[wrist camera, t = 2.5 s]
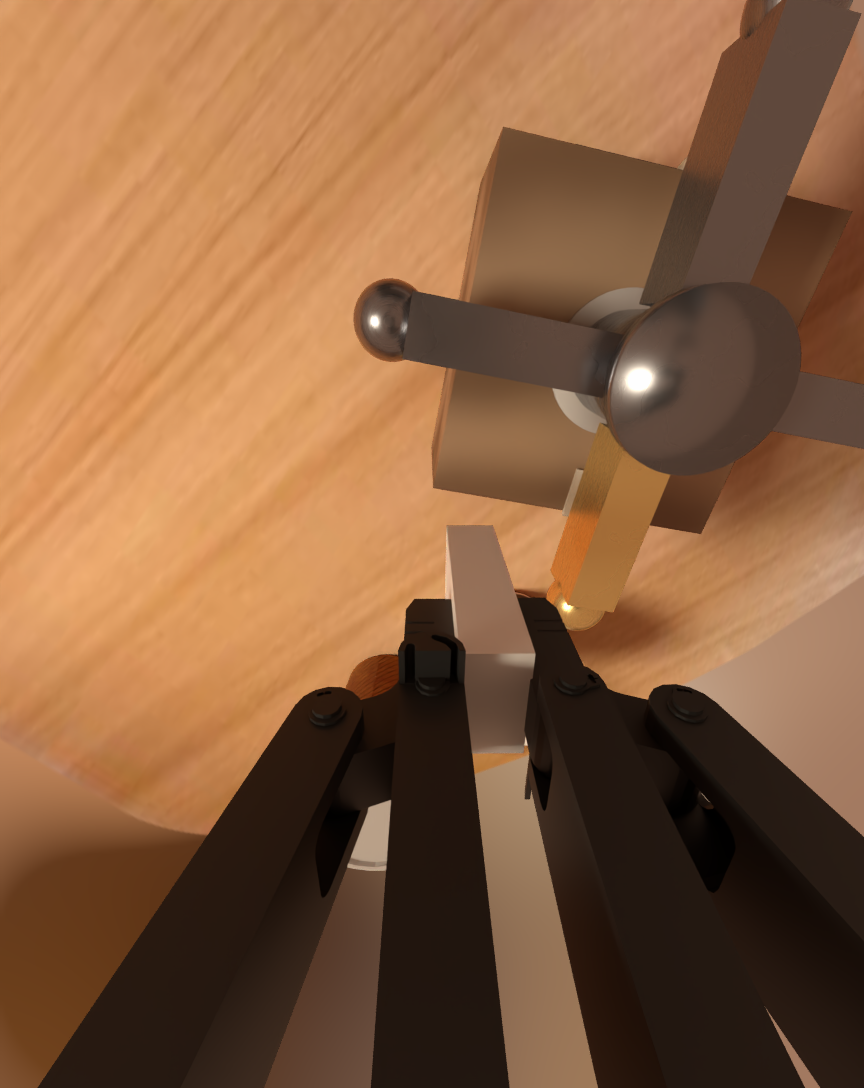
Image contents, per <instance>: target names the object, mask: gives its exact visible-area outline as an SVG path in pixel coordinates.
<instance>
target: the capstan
mask: <svg viewBox="0 0 864 1088" xmlns="http://www.w3.org/2000/svg"><path fill="white" fill-rule="evenodd" d="M852 2H853V0H747V1H746V3H745V6H744V10H743V13H742V18H741V23H740V38H739V39H737V40H736V41H735V42H734V43H733V44H732V45H731V46H730V47H728V48H727V49H726V50H725V51H724V52H723V53H722V55H721V58H720V61H719V64H718V67H717V70H716V73H715V76H714V79H713V82H712V85H711V88H710V91H709V94H708V97H707V100H706V103H705V106H704V109H703V112H702V115H701V118H700V121H699V124H698V127H697V130H696V133H695V136H694V139H693V142H692V145H691V148H690V151H689V154H688V157H687V160H686V163H685V166H684V169H683V172H682V175H681V179H680V182H679V185H678V188H677V191H676V194H675V197H674V200H673V203H672V206H671V209H670V212H669V215H668V218H667V221H666V224H665V227H664V230H663V233H662V236H661V239H660V242H659V245H658V248H657V251H656V254H655V257H654V260H653V263H652V266H651V269H650V272H649V275H648V278H647V281H646V284H645V287H644V290H643V293H642V296H641V299H640V302H639V304H641V305H645V306H650V308H649V309H627V310H620V311H617V312H613V313H611V314H609V315H606V316H605V317H603V318H601V319H600V320H598V321H597V322H596V323H594V324H593V325H592V326H591V327H585V326H580V325H575V324H570V323H565V322H561V321H556V320H551V319H546V318H541V317H537V316H532V315H527V314H522V313H517V312H513V311H508V310H503V309H498V308H493V307H489V306H484V305H479V304H474V303H469V302H465V301H460V300H455V299H450V298H445V297H441V296H436V295H431V294H426V293H421V292H418V291H417V290H416V289H415V288H414V287H413V286H412V285H410V284H408V283H407V282H404V281H402V280H399V279H392V278H391V279H382V280H379V281H376V282H374V283H372V284H371V285H369V286H368V287H367V288H366V289H365V290H364V291H363V292H362V293H361V295H360V297H359V298H358V300H357V303H356V306H355V309H354V328H355V332H356V335H357V337H358V339H359V341H360V343H361V345H362V346H363V347H364V348H365V350H367V351H368V352H369V353H370V354H371V355H372V356H374V357H376V358H378V359H380V360H383V361H388V362H397V361H402V360H410V361H416V362H421V363H426V364H431V365H436V366H441V367H446V368H451V369H457V370H462V371H467V372H472V373H477V374H482V375H487V376H493V377H498V378H503V379H508V380H513V381H518V382H523V383H528V384H534V385H539V386H544V387H549V388H554V389H559V390H564V391H569V392H575V395H576V397H577V398H578V400H579V401H580V402H581V404H582V405H583V406H584V407H585V408H587V409H588V410H589V411H591V412H593V413H594V414H596V415H598V416H599V417H601V418H603V419H605V420H606V422H607V424H604V423H599V426H598V429H597V432H596V435H595V438H594V441H593V444H592V447H591V450H590V453H589V456H588V459H587V462H586V465H585V468H584V471H583V474H582V477H581V480H580V483H579V486H578V489H577V492H576V495H575V498H574V501H573V504H572V507H571V510H570V513H569V516H568V519H567V522H566V525H565V528H564V531H563V534H562V537H561V540H560V543H559V546H558V549H557V552H556V555H555V558H554V561H553V564H552V568H551V573H552V575H553V577H554V579H555V581H554V582H553V583H552V584H551V586H550V588H549V590H548V592H547V597H546V599H547V600H548V601H549V602H550V603H551V604H553V605H554V606H555V607H556V608H557V609H558V611H559V614H560V616H561V618H562V622H564V624H565V627H566V629H568V630H573V631H582V630H587V629H589V628H591V627H593V626H595V625H596V624H597V623H598V622H599V621H600V620H601V619H602V617H603V616H604V613H605V611H607V612H614V610H615V607H616V605H617V603H618V600H619V598H620V595H621V593H622V591H623V588H624V586H625V583H626V581H627V578H628V576H629V574H630V571H631V569H632V566H633V564H634V562H635V559H636V557H637V554H638V552H639V550H640V547H641V545H642V542H643V540H644V537H645V535H646V533H647V530H648V528H649V525H650V523H651V521H652V518H653V516H654V513H655V511H656V509H657V506H658V504H659V501H660V499H661V496H662V494H663V492H664V489H665V487H666V484H667V482H668V480H669V477H670V475H678V476H689V475H697V474H703V473H707V472H711V471H714V470H717V469H719V468H722V467H725V466H727V465H729V464H731V463H733V462H735V461H736V460H738V459H739V458H741V457H743V456H744V455H746V454H747V453H748V452H750V451H751V450H752V449H753V448H755V447H756V446H757V445H758V444H759V443H760V442H761V441H762V440H763V439H764V438H765V437H766V436H767V435H768V434H769V433H770V432H771V431H774V432H780V433H785V434H790V435H795V436H800V437H805V438H810V439H816V440H821V441H826V442H831V443H836V444H841V445H846V446H851V447H857V448H862V449H864V385H863V384H859V383H854V382H849V381H844V380H839V379H835V378H830V377H825V376H820V375H815V374H811V373H806V372H801V371H800V366H801V346H800V339H799V334H798V330H797V328H796V325H795V323H794V320H793V318H792V316H791V315H790V313H789V312H788V310H787V309H786V307H785V306H784V305H783V304H782V303H781V302H780V301H779V300H778V299H777V298H776V297H774V296H773V295H772V294H770V293H769V292H767V291H765V290H763V289H761V288H759V287H756V286H753V285H750V282H751V279H752V277H753V274H754V272H755V270H756V267H757V265H758V262H759V260H760V258H761V255H762V253H763V250H764V248H765V246H766V243H767V241H768V238H769V236H770V233H771V231H772V229H773V226H774V224H775V221H776V219H777V217H778V214H779V212H780V209H781V207H782V204H783V202H784V200H785V197H786V195H787V192H788V190H789V188H790V185H791V183H792V180H793V178H794V176H795V173H796V171H797V168H798V166H799V163H800V161H801V159H802V156H803V154H804V151H805V149H806V147H807V144H808V142H809V139H810V137H811V135H812V132H813V130H814V127H815V125H816V122H817V120H818V118H819V115H820V113H821V110H822V108H823V106H824V103H825V101H826V98H827V96H828V94H829V91H830V89H831V86H832V84H833V81H834V79H835V77H836V74H837V72H838V69H839V67H840V65H841V62H842V60H843V57H844V55H845V52H846V50H847V48H848V45H849V43H850V40H851V38H852V36H853V33H854V31H855V28H856V26H857V24H858V21H859V19H860V16H861V13H858V12H854V11H850V10H849V8H850V6H851V4H852Z"/></svg>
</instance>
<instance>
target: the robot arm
mask: <svg viewBox="0 0 864 1088" xmlns="http://www.w3.org/2000/svg"><path fill="white" fill-rule="evenodd" d="M398 664H399V680H398V682H397V683H396V684H395V685H394V686H393V687H392V688H391V689H389V690H388V691H386V692H384V693H382V694H379V695H377V696H374V697H370V698H366V699H362V700H360V698H359V697H358V696H357V695H356V694H355V693H354V692H353V691H350V690H347V689H345V688H342V687H326V688H322V689H318V690H315V691H313V692H311V693H309V694H307V695H306V696H304V697H303V698H302V699H301V700H300V701H299V702H298V703H297V704H296V705H295V706H294V708H293V709H292V711H291V712H290V714H289V715H288V717H287V718H286V720H285V721H284V723H283V724H282V726H281V727H280V729H279V730H278V732H277V733H276V735H275V736H274V737H273V739H272V740H271V742H270V743H269V745H268V746H267V748H266V749H265V751H264V752H263V754H262V755H261V757H260V758H259V760H258V761H257V763H256V764H255V766H254V767H253V769H252V770H251V772H250V773H249V775H248V776H247V778H246V779H245V781H244V782H243V784H242V785H241V786H240V788H239V789H238V791H237V792H236V794H235V795H234V797H233V798H232V800H231V801H230V803H229V804H228V806H227V807H226V809H225V810H224V812H223V813H222V815H221V816H220V818H219V819H218V821H217V822H216V824H215V825H214V827H213V828H212V830H211V831H210V833H209V834H208V835H207V837H206V838H205V840H204V841H203V843H202V845H201V846H200V847H199V849H198V851H197V852H196V854H195V855H194V856H193V858H192V859H191V861H190V862H189V864H188V865H187V867H186V868H185V870H184V871H183V873H182V874H181V876H180V877H179V879H178V880H177V882H176V883H175V885H174V886H173V887H172V889H171V890H170V892H169V894H168V895H167V896H166V898H165V899H164V901H163V902H162V904H161V906H160V907H159V908H158V910H157V911H156V913H155V914H154V916H153V917H152V919H151V920H150V922H149V923H148V925H147V926H146V928H145V929H144V931H143V932H142V933H141V935H140V937H139V938H138V940H137V941H136V942H135V944H134V945H133V947H132V948H131V950H130V951H129V953H128V955H127V956H126V957H125V959H124V960H123V962H122V963H121V965H120V966H119V968H118V969H117V971H116V972H115V974H114V975H113V977H112V978H111V980H110V981H109V982H108V984H107V985H106V987H105V989H104V990H103V991H102V993H101V994H100V996H99V997H98V999H97V1000H96V1002H95V1003H94V1005H93V1007H92V1008H91V1009H90V1011H89V1012H88V1014H87V1015H86V1017H85V1018H84V1020H83V1021H82V1023H81V1024H80V1026H79V1027H78V1029H77V1030H76V1032H75V1033H74V1034H73V1036H72V1038H71V1039H70V1040H69V1042H68V1043H67V1045H66V1046H65V1048H64V1049H63V1051H62V1052H61V1054H60V1055H59V1057H58V1058H57V1060H56V1061H55V1063H54V1064H53V1066H52V1067H51V1069H50V1070H49V1072H48V1073H47V1075H46V1076H45V1078H44V1079H43V1080H42V1082H41V1083H40V1085H39V1087H38V1088H264V1086H265V1084H266V1081H267V1078H268V1076H269V1073H270V1070H271V1068H272V1065H273V1062H274V1060H275V1057H276V1054H277V1052H278V1049H279V1047H280V1044H281V1041H282V1039H283V1036H284V1033H285V1031H286V1028H287V1025H288V1023H289V1020H290V1017H291V1015H292V1012H293V1009H294V1006H295V1004H296V1001H297V999H298V996H299V993H300V991H301V988H302V985H303V983H304V980H305V978H306V975H307V972H308V970H309V967H310V964H311V962H312V959H313V956H314V954H315V951H316V948H317V946H318V943H319V940H320V938H321V935H322V932H323V930H324V927H325V924H326V922H327V919H328V917H329V914H330V911H331V909H332V906H333V903H334V901H335V898H336V895H337V893H338V890H339V887H340V885H341V882H342V879H343V877H344V874H345V871H346V869H347V866H348V863H349V861H350V858H351V855H352V853H353V850H354V848H355V845H356V842H357V840H358V837H359V834H360V832H361V829H362V826H363V824H364V821H365V818H366V816H367V813H368V808H369V807H371V806H374V805H377V804H380V803H383V802H386V801H389V800H391V807H390V821H389V836H388V850H387V864H386V879H385V893H384V907H383V922H382V936H381V951H380V965H379V981H378V994H377V1008H376V1023H375V1038H374V1051H373V1065H372V1080H371V1088H509V1080H508V1071H507V1062H506V1053H505V1044H504V1036H503V1026H502V1018H501V1008H500V999H499V990H498V982H497V972H496V963H495V954H494V945H493V936H492V927H491V919H490V909H489V901H488V892H487V882H486V874H485V864H484V856H483V846H482V838H481V829H480V820H479V810H478V801H477V792H476V784H475V775H474V766H473V757H472V753H523V752H524V744H525V736H526V740H527V745H528V749H529V753H530V754H529V763H528V770H527V777H526V785H525V799H530V795H531V790H532V795H533V799H534V803H535V808H536V812H537V816H538V821H539V826H540V830H541V835H542V839H543V844H544V848H545V852H546V857H547V862H548V866H549V870H550V875H551V879H552V884H553V888H554V893H555V897H556V902H557V906H558V910H559V915H560V919H561V924H562V928H563V933H564V937H565V942H566V946H567V951H568V956H569V960H570V964H571V968H572V973H573V978H574V982H575V987H576V991H577V995H578V1000H579V1004H580V1009H581V1014H582V1018H583V1022H584V1027H585V1031H586V1036H587V1040H588V1045H589V1049H590V1054H591V1058H592V1063H593V1067H594V1072H595V1076H596V1080H597V1085H598V1088H805V1087H804V1085H803V1083H802V1081H801V1079H800V1077H799V1075H798V1073H797V1071H796V1069H795V1067H794V1065H793V1063H792V1061H791V1058H790V1056H789V1054H788V1053H787V1051H786V1048H785V1046H784V1044H783V1042H782V1040H781V1038H780V1036H779V1034H778V1032H777V1030H776V1028H775V1026H774V1024H773V1022H772V1020H771V1018H770V1016H769V1014H768V1012H769V1013H770V1015H771V1016H772V1017H773V1019H774V1020H775V1022H776V1023H777V1025H778V1026H779V1028H780V1029H781V1031H782V1032H783V1033H784V1035H785V1037H786V1038H787V1039H788V1041H789V1042H790V1044H791V1045H792V1047H793V1048H794V1049H795V1051H796V1053H797V1054H798V1056H799V1057H800V1058H801V1060H802V1061H803V1063H804V1064H805V1066H806V1067H807V1069H808V1070H809V1072H810V1073H811V1075H812V1076H813V1077H814V1079H815V1080H816V1082H817V1083H818V1085H819V1086H820V1088H864V837H863V836H862V835H861V834H860V833H859V832H858V831H857V830H856V829H855V828H853V827H852V826H851V825H850V824H849V823H848V822H847V821H846V820H845V819H844V818H842V817H841V816H840V815H839V814H838V813H837V812H836V811H835V810H834V809H833V808H831V807H830V806H829V805H828V804H827V803H826V802H825V801H824V800H823V799H821V798H820V797H819V796H818V795H817V794H816V793H815V792H814V791H813V790H812V789H811V788H809V787H808V786H807V785H806V784H805V783H804V782H803V781H802V780H801V779H799V777H797V776H796V775H795V774H794V773H793V772H792V771H791V770H790V769H789V768H788V767H786V766H785V765H784V764H783V763H782V762H781V761H780V760H779V759H777V757H775V756H774V755H773V754H772V753H771V752H770V751H769V750H768V749H767V748H766V747H764V746H763V745H762V744H761V743H760V742H759V741H758V740H757V739H756V738H755V737H753V736H752V735H751V734H750V733H749V732H748V731H747V730H746V729H745V728H743V727H742V726H741V725H740V724H739V723H738V722H737V721H736V720H735V719H734V718H732V716H730V715H729V714H728V713H727V712H726V711H725V710H724V709H722V707H720V706H719V705H718V704H717V703H716V702H715V701H713V700H712V699H710V698H709V697H708V696H706V695H705V694H703V693H701V692H699V691H697V690H694V689H692V688H690V687H686V686H681V685H676V684H671V685H661V686H659V687H657V688H654V689H653V691H652V692H651V694H650V695H649V699H648V700H646V699H642V698H637V697H633V696H629V695H624V694H621V693H617V692H614V691H612V690H610V689H608V688H607V686H606V684H605V683H604V681H603V680H602V679H601V677H600V676H599V675H598V674H597V673H595V672H594V671H592V670H591V669H589V668H587V667H584V666H583V663H582V661H581V659H580V657H579V655H578V653H577V650H576V648H575V646H574V644H573V642H572V640H571V637H570V635H569V633H568V632H567V629H566V627H565V624H564V622H562V618H561V616H560V614H559V611H558V609H557V608H556V607H555V606H554V605H553V604H551V603H550V602H549V601H548V600H547V599H546V598H517V596H516V593H515V590H514V587H513V584H512V581H511V578H510V575H509V572H508V569H507V566H506V563H505V560H504V557H503V554H502V551H501V548H500V545H499V542H498V539H497V536H496V533H495V530H494V527H493V526H485V525H447V530H446V576H445V599H414V600H413V602H412V603H411V604H410V605H409V607H408V608H407V609H406V620H405V634H404V641H403V642H402V643H401V645H400V647H399V650H398ZM701 793H702V794H703V795H704V796H705V797H706V798H707V799H708V801H709V802H708V801H707V800H706V799H705V797H704V796H703V795H702V794H701ZM765 1007H766V1008H765ZM766 1009H767V1010H768V1012H767V1010H766Z"/></svg>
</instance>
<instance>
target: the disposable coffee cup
mask: <svg viewBox="0 0 864 1088" xmlns="http://www.w3.org/2000/svg"><path fill="white" fill-rule="evenodd" d="M398 680H399V664H398V656H393V655H379V656H375V657H371V658H368V659H366V660H364V661H363V662H361V663H360V664H358V665H357V667H356V668H355V669H354V670H353V672H352V673H351V675H350V678H349V681H348V683H347V686H346V689H347V690H350V691H353V692H354V693H355V694H356V695H357V696H358V697H359V698H360V700H362V699H366V698H370V697H374V696H377V695H379V694H382V693H384V692H386V691H388V690H389V689H391V688H392V687H393V686H394V685H395V684H396V683H397V682H398ZM390 807H391V800H389V801H386V802H383V803H380V804H377V805H374V806H371V807H369V808H368V813H367V816H366V818H365V821H364V824H363V826H362V829H361V832H360V834H359V837H358V840H357V842H356V845H355V848H354V850H353V853H352V855H351V858H350V861H349V863H348V866H347V867H348V868H354V869H361V870H368V871H374V870H375V871H382V870H386V864H387V850H388V836H389V821H390Z"/></svg>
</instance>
